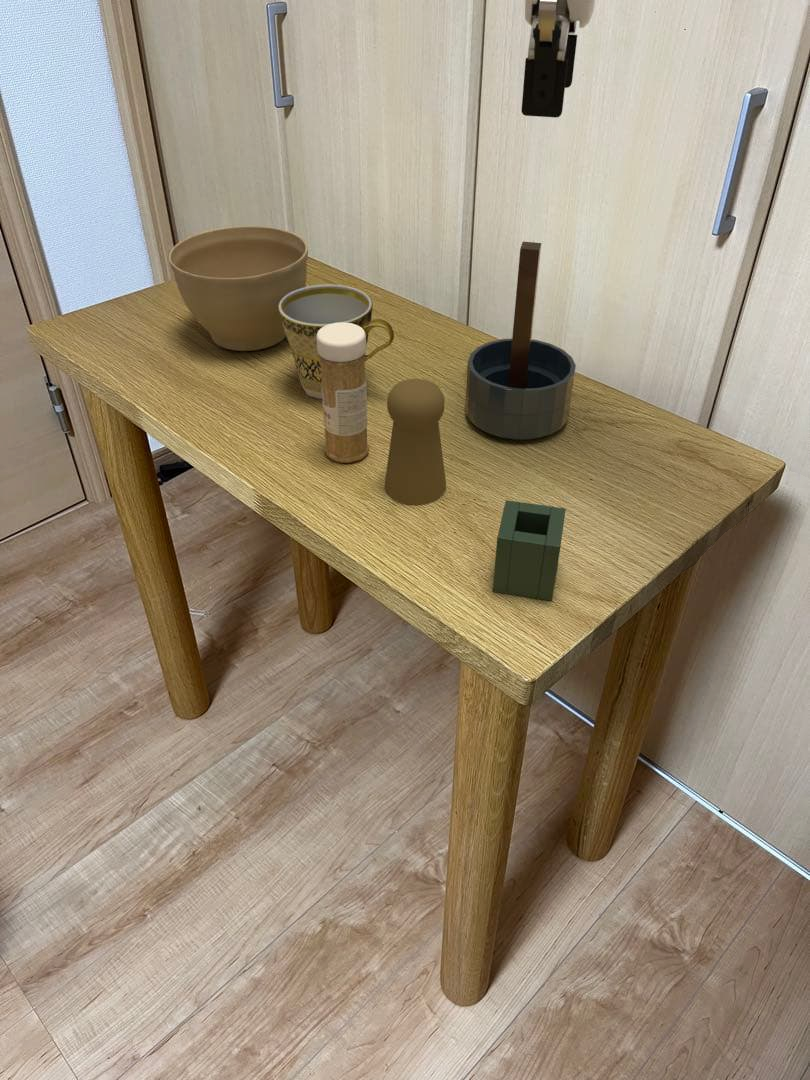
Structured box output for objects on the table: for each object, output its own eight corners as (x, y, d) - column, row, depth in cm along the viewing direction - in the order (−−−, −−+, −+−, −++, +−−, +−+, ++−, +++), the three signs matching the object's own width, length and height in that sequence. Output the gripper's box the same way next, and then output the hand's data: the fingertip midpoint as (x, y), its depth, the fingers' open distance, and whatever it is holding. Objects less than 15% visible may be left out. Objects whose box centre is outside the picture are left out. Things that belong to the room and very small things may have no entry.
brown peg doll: (374, 476, 84) (371, 378, 76) (429, 461, 85) (431, 364, 78) (399, 511, 79) (399, 411, 72) (457, 494, 81) (462, 395, 74)
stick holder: (557, 561, 74) (565, 508, 70) (551, 601, 70) (560, 547, 66) (500, 553, 75) (505, 499, 71) (492, 591, 71) (497, 537, 67)
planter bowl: (324, 309, 112) (318, 226, 105) (300, 369, 99) (291, 281, 92) (205, 303, 113) (192, 221, 106) (167, 362, 101) (148, 274, 94)
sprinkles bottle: (321, 443, 88) (312, 323, 79) (364, 436, 89) (360, 317, 80) (329, 468, 85) (320, 346, 76) (374, 461, 85) (370, 340, 77)
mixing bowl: (571, 396, 95) (579, 344, 91) (562, 451, 87) (570, 396, 83) (474, 385, 97) (477, 333, 93) (457, 438, 89) (459, 383, 84)
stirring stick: (524, 406, 92) (541, 242, 80) (522, 415, 91) (539, 250, 79) (507, 404, 92) (522, 241, 80) (505, 413, 91) (520, 248, 79)
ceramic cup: (270, 396, 95) (260, 313, 88) (314, 357, 102) (308, 277, 95) (374, 423, 91) (371, 338, 84) (412, 380, 98) (413, 298, 91)
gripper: (623, -161, 53) (585, 131, 64) (630, -167, 66) (598, 78, 77) (504, -161, 54) (487, 125, 66) (534, -167, 67) (516, 74, 78)
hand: (547, 100), depth 71 cm, fingers open, 9 cm apart
